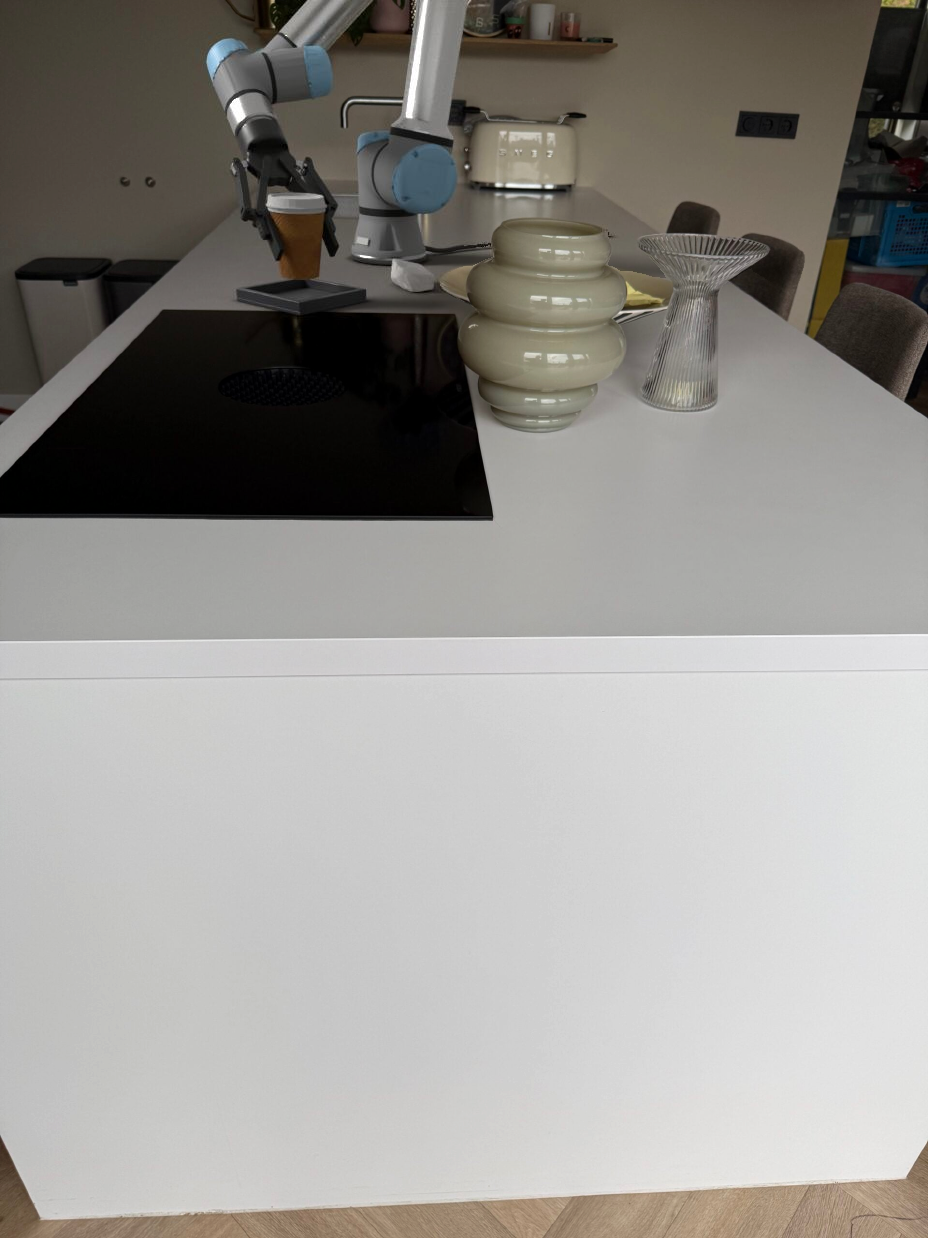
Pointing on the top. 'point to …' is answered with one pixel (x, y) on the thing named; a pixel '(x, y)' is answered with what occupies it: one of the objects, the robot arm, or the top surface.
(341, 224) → the top surface
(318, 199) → the disposable coffee cup
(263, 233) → the robot arm
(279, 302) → the pad
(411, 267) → the white rock
